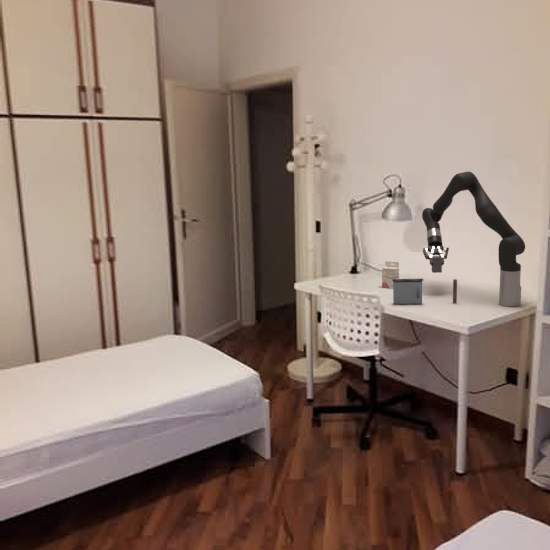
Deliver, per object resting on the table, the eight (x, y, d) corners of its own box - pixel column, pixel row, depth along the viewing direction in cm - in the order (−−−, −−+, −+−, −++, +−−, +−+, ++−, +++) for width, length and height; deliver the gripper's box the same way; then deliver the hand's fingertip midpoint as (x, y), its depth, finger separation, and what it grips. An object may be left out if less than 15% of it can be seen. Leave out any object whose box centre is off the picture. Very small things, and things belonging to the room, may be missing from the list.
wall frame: (455, 302, 290) (456, 277, 287) (457, 304, 287) (457, 278, 284) (392, 302, 295) (392, 278, 292) (392, 304, 291) (392, 279, 289)
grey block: (421, 302, 290) (422, 281, 288) (422, 304, 288) (422, 282, 286) (393, 303, 292) (393, 281, 290) (393, 304, 290) (393, 282, 288)
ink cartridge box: (381, 287, 329) (381, 262, 326) (385, 286, 333) (385, 261, 330) (395, 289, 325) (395, 263, 322) (399, 287, 329) (399, 261, 326)
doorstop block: (440, 270, 306) (440, 256, 305) (441, 272, 302) (441, 257, 300) (431, 270, 307) (431, 256, 306) (432, 272, 303) (432, 257, 301)
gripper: (421, 234, 309) (423, 261, 300) (448, 234, 307) (452, 260, 298) (420, 243, 315) (422, 269, 306) (447, 242, 313) (450, 268, 304)
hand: (437, 264), depth 302 cm, fingers closed on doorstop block, 4 cm apart
